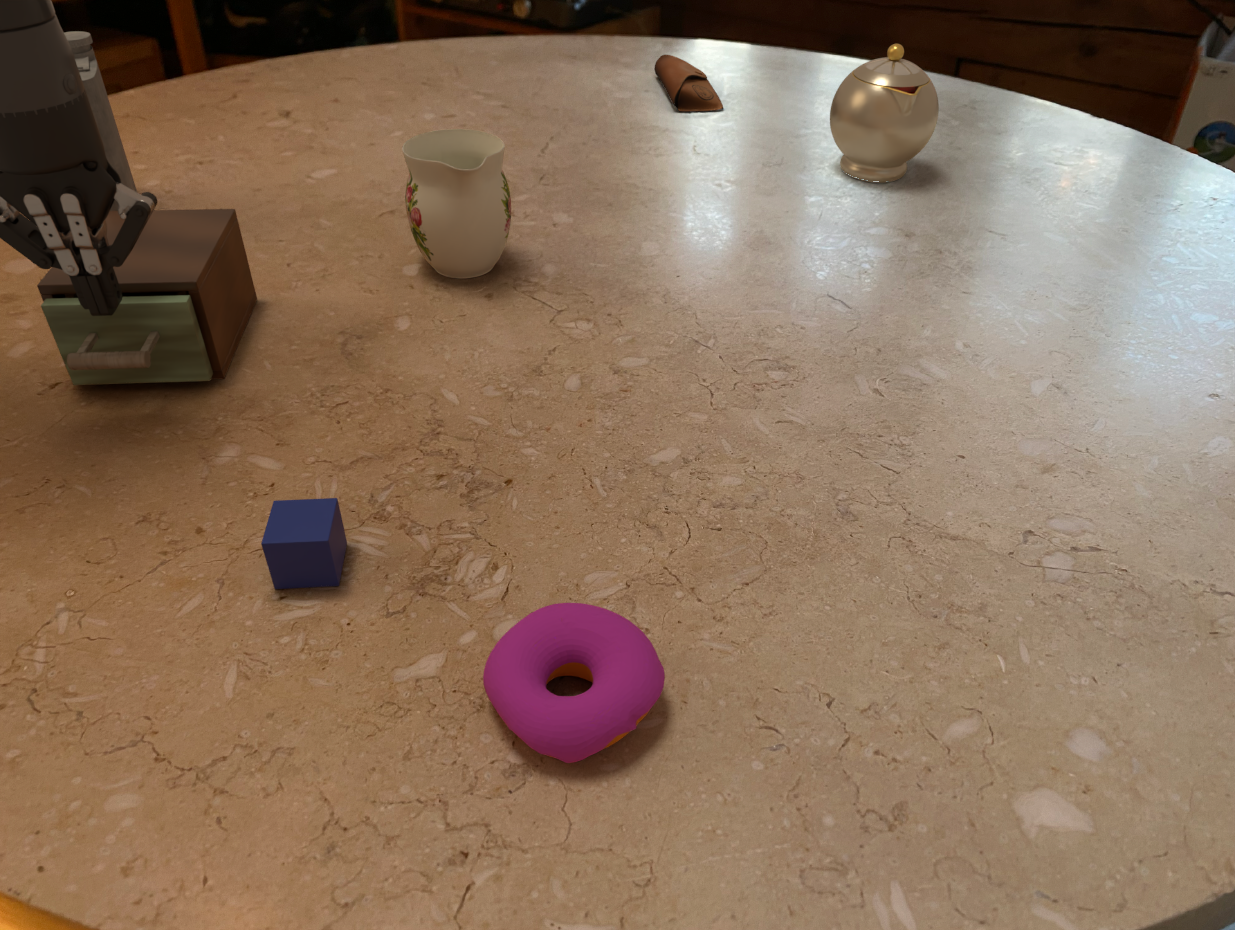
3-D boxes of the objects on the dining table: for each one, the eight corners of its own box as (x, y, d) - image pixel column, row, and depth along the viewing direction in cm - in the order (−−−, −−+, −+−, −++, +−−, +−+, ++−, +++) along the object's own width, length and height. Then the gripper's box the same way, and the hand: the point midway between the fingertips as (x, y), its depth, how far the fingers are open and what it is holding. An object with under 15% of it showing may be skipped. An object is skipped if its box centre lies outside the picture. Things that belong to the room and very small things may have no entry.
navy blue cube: (274, 589, 65) (260, 543, 62) (285, 545, 68) (273, 500, 66) (339, 586, 65) (328, 540, 63) (347, 542, 69) (337, 497, 66)
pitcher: (492, 221, 112) (484, 104, 103) (531, 291, 99) (526, 163, 90) (399, 232, 109) (383, 113, 101) (427, 306, 96) (412, 175, 87)
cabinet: (224, 379, 85) (196, 281, 79) (76, 383, 84) (36, 285, 78) (257, 298, 96) (235, 208, 90) (128, 302, 95) (96, 210, 89)
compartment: (196, 411, 79) (170, 331, 74) (53, 417, 78) (17, 335, 73) (243, 304, 94) (224, 230, 89) (122, 307, 92) (96, 233, 88)
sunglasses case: (727, 107, 144) (709, 69, 140) (687, 132, 146) (668, 95, 142) (702, 72, 158) (684, 36, 154) (666, 95, 160) (647, 60, 156)
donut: (462, 681, 59) (456, 633, 56) (595, 613, 64) (595, 565, 61) (550, 803, 53) (548, 756, 50) (690, 717, 58) (696, 669, 55)
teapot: (941, 192, 122) (974, 60, 112) (841, 196, 120) (865, 62, 110) (891, 142, 136) (916, 21, 126) (800, 145, 134) (818, 22, 124)
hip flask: (101, 192, 116) (42, 18, 103) (136, 186, 118) (83, 14, 105) (115, 244, 105) (52, 56, 93) (154, 237, 107) (97, 52, 94)
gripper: (139, 72, 68) (202, 286, 79) (-53, 75, 67) (38, 291, 78) (105, 107, 62) (178, 332, 73) (-105, 110, 61) (0, 338, 72)
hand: (105, 310), depth 76 cm, fingers closed
